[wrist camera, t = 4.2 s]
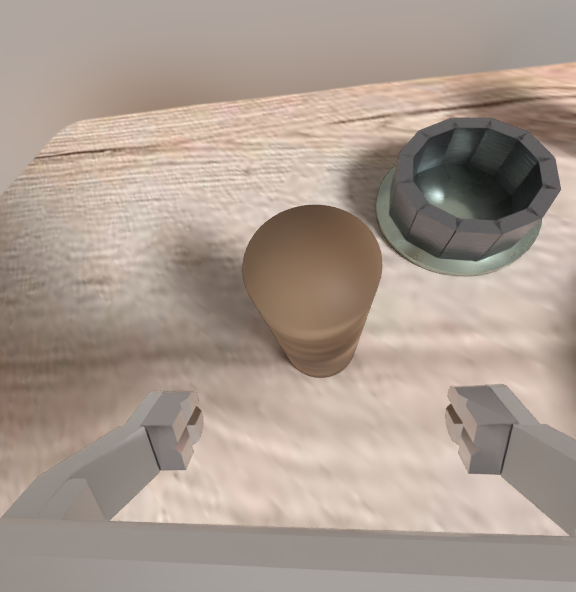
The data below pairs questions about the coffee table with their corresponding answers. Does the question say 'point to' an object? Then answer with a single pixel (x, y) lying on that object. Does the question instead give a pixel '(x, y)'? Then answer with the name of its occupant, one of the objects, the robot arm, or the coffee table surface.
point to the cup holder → (467, 196)
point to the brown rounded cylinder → (314, 284)
